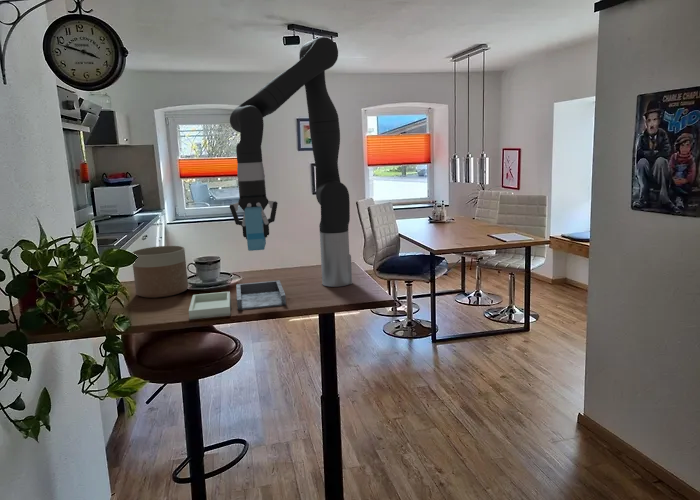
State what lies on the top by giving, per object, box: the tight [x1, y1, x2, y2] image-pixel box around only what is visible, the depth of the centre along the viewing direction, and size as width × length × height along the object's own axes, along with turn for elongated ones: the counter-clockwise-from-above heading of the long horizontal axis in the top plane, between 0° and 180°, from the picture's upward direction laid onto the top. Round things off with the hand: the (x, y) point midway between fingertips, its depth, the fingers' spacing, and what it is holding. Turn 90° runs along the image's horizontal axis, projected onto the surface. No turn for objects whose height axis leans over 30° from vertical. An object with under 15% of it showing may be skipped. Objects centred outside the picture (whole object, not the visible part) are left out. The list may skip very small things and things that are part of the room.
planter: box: [131, 245, 189, 299], centre depth 167 cm, size 16×16×14 cm
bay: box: [235, 279, 287, 311], centre depth 155 cm, size 13×18×3 cm
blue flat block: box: [245, 207, 267, 252], centre depth 152 cm, size 12×4×12 cm, turn 7°
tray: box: [188, 290, 231, 320], centre depth 148 cm, size 11×17×2 cm, turn 13°
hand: (256, 237), depth 152 cm, fingers closed on blue flat block, 4 cm apart
